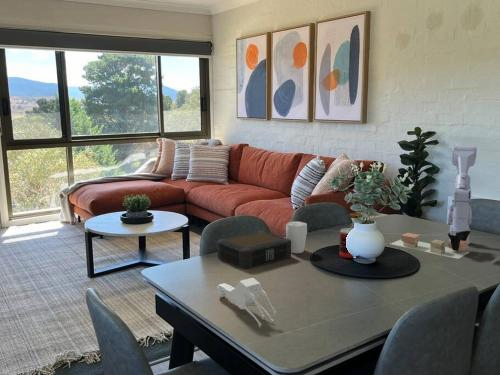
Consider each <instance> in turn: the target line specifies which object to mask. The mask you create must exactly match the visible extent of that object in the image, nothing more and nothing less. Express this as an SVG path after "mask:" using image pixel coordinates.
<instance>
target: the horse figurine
mask: <svg viewBox="0 0 500 375" xmlns="http://www.w3.org/2000/svg"><path fill="white" fill-rule="evenodd" d="M216 291H217V295H218V297H219V299H222V298H225V297H226V295H227V297H228V298H229V299H230V300H232V301H233V303H234V304H235V305H236V306H237V307H238V308H239V309H240V310H246V311H247V312H248V314H250V315H251V316H252V317H253V318H254V319H255V321H256V323H257V324H258V327H259V328H261V327H262V323H261V321H260V320H259V319H258V317H256V315H255V314H254V313H253V312H252V311H251V310H250V308H249V307H252V306H253V307H257V309H258V311H259V312H260V315H261V318H262V320H264V319H265V315H266V316H267V317H268V319H269V320H270V324H274V319H272V317H271V316H272V315H270V314H269V313H268V311H267V310H265V308H264V307H263V306H262V305H261V304H260V303H259V297H260V294H261V295H262V296H263V297H264V298H265V299H266V301H267V303H268V304H269V306H270V308H271V311H272V313H273V316H274V317H275V316H276V314H277V311H276V310H275V308H274V306H273V305H272V303H271V300H270V298H269V296H268V294H267V292H266V291H265V290H263V287H262V286H261V282H259V281H258V280H257V279H256V278H254V277H251V278H245V279H242V280H239V281H238V282H237V285H236V286H235V287H233V286H232V285H230V284H227V283H225V282H224V283H220V284H218V285H217V287H216Z"/></svg>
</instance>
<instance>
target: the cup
mask: <svg viewBox="0 0 500 375" xmlns="http://www.w3.org/2000/svg"><path fill="white" fill-rule="evenodd" d="M285 226H286V227H285V234H286V235H285V236H286V239H289V240H291V254H301V253H304V252H305V246H306V242H307V241H306V240H307V234H308V225H307V223H306V222H303V221H289V222H288V221H287V223H286V225H285Z"/></svg>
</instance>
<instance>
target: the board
mask: <svg viewBox="0 0 500 375" xmlns="http://www.w3.org/2000/svg"><path fill="white" fill-rule="evenodd" d="M403 244H404V242H403V241H401V239H398V240H396V241H394V242H391V243H390V245H391V246H392V245H394V246H397V247H401V248H406V249H411V250H416V251H420V252H424V253H430V254H434V255H437V256H444V257H447V258H453V259H455V260H456V259H457V260H459V259H461V258H462V257H465V256H466V255H468V254H470V253H471V251H467V250H463V251H461V250H458V251H455V250H452V249H451V248H449V246H445V252H443V253H441V254H438V253H433V252H430V245H431V243H429V242H424V241H421V240H420V241H419V242H418V246H416V247H414V248H410V247H406V246H403Z"/></svg>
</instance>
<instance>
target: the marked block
mask: <svg viewBox="0 0 500 375" xmlns="http://www.w3.org/2000/svg"><path fill="white" fill-rule="evenodd" d="M403 246H406V247H410V248H414V247H416V246H418V242H417V243H415V244H413V243H408V242H404V244H403ZM406 247H405V248H406ZM410 248H409V249H410Z"/></svg>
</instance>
